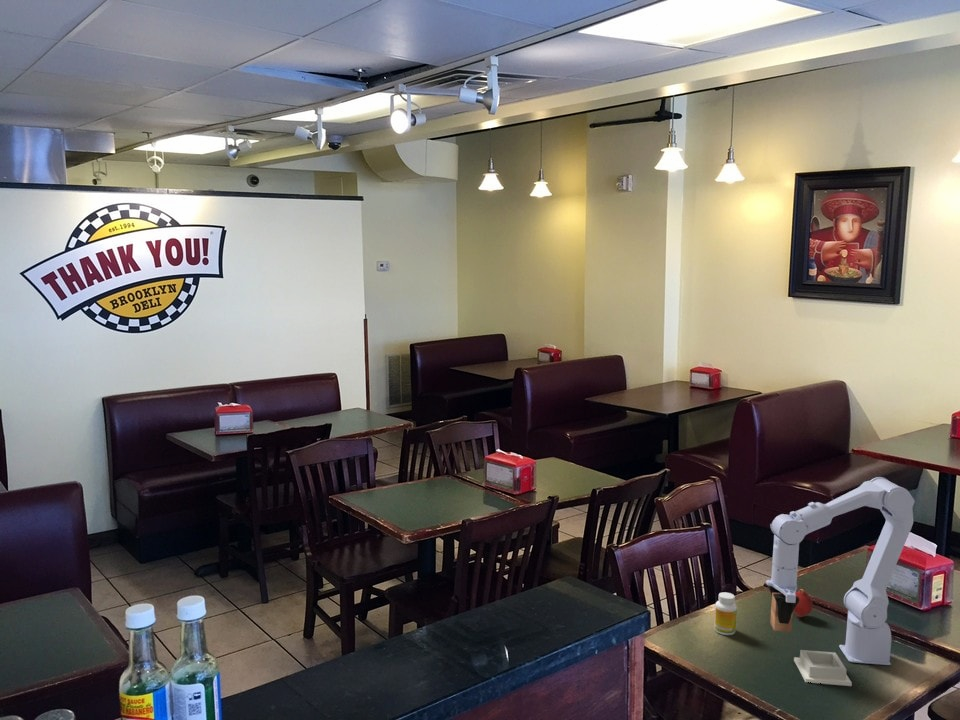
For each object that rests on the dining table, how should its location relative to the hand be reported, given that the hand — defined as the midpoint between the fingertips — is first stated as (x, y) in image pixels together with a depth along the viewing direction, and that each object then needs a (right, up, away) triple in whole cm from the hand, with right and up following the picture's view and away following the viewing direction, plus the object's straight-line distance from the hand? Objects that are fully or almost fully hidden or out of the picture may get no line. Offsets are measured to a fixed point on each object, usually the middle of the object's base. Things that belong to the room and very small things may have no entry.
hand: (781, 618), depth 188 cm
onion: (+14, -7, +22) cm, 27 cm away
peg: (0, -2, 0) cm, 2 cm away
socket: (+7, -10, -7) cm, 14 cm away
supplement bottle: (-10, -8, +13) cm, 18 cm away
